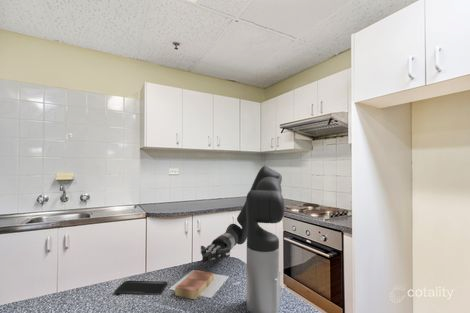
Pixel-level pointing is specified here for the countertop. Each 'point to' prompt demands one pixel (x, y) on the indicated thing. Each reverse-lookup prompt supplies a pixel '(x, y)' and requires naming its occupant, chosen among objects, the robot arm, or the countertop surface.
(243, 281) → the countertop surface
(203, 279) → the brown flat rectangular block
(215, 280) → the white square pad
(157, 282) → the phone
